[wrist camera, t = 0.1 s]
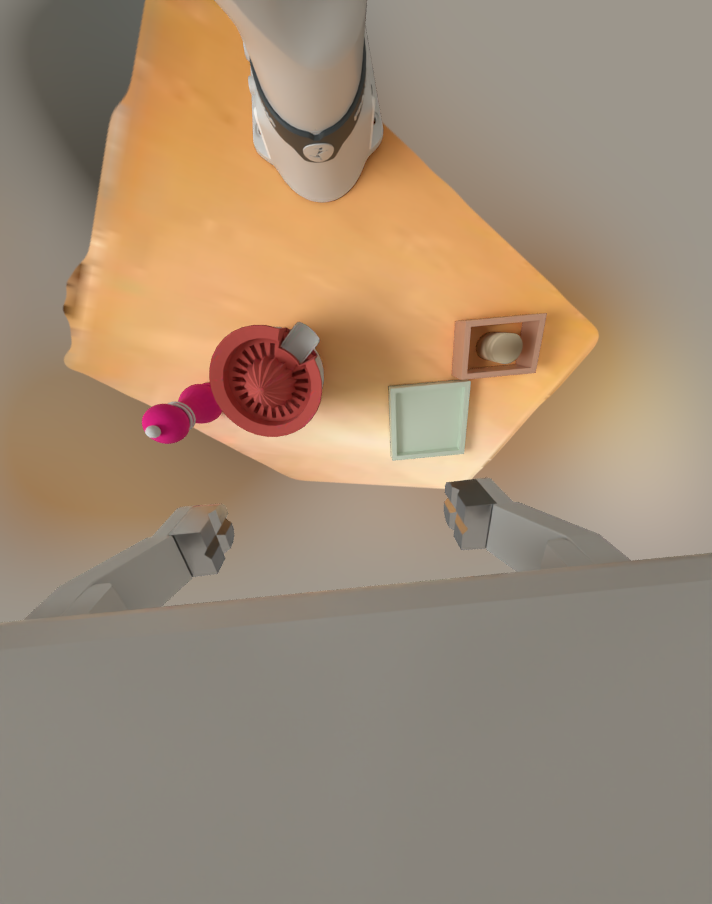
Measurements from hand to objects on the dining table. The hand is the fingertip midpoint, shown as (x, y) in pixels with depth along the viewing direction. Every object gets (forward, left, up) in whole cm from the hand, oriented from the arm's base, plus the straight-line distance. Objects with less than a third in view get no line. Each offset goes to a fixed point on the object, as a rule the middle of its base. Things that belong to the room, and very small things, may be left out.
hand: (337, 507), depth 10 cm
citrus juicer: (0, -10, -48) cm, 49 cm away
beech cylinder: (0, +29, -48) cm, 56 cm away
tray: (+14, +17, -48) cm, 53 cm away
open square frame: (0, +29, -48) cm, 56 cm away
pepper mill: (+5, -27, -48) cm, 55 cm away
